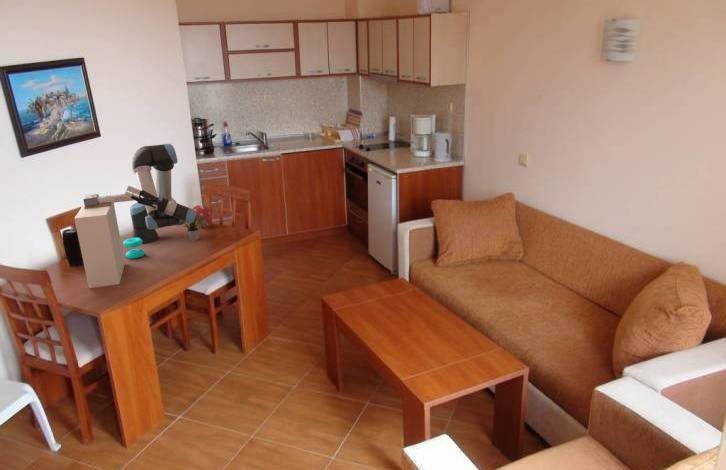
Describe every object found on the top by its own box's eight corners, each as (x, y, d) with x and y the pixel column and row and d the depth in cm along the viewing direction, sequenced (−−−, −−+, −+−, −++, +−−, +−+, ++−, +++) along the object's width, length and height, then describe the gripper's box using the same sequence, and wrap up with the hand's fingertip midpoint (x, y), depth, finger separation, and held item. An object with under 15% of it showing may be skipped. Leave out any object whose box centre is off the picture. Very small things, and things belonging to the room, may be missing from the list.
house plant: (213, 237, 345) (210, 212, 340) (196, 244, 334) (192, 218, 329) (197, 234, 352) (193, 209, 347) (179, 240, 341) (176, 215, 336)
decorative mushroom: (215, 228, 363) (212, 205, 359) (194, 232, 357) (191, 209, 352) (210, 223, 374) (207, 201, 370) (189, 226, 368) (186, 204, 364)
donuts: (129, 236, 320) (145, 237, 318) (132, 253, 324) (148, 253, 322) (119, 242, 311) (135, 243, 309) (122, 259, 314) (138, 259, 312)
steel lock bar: (134, 197, 296) (133, 190, 294) (133, 201, 288) (132, 193, 287) (87, 202, 289) (85, 195, 288) (84, 206, 282) (83, 198, 281)
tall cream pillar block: (125, 263, 307) (112, 198, 296) (119, 284, 280) (105, 213, 268) (97, 267, 304) (84, 201, 292) (88, 288, 276) (73, 216, 265)
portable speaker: (88, 261, 314) (82, 227, 307) (79, 267, 305) (72, 233, 299) (74, 261, 314) (66, 227, 308) (64, 267, 305) (57, 233, 299)
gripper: (170, 194, 309) (131, 179, 300) (168, 206, 286) (126, 189, 278) (164, 207, 310) (125, 191, 301) (162, 219, 287) (120, 203, 279)
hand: (126, 190), depth 290 cm, fingers open, 13 cm apart
